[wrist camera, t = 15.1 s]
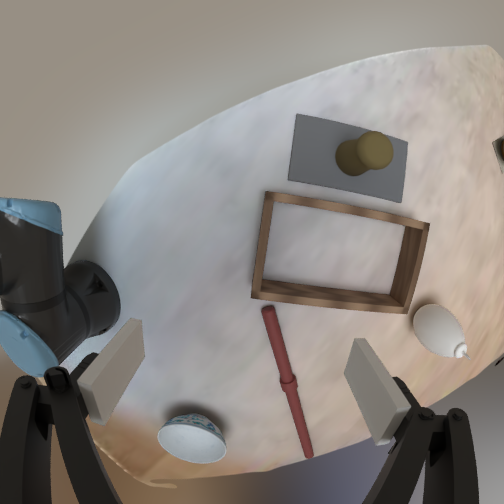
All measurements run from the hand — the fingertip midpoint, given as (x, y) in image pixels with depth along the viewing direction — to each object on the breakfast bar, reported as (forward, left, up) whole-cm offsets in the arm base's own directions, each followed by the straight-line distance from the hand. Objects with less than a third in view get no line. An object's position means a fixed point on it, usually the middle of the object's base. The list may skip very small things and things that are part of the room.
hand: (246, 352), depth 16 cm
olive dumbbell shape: (+13, +17, -29) cm, 36 cm away
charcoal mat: (+13, +17, -30) cm, 37 cm away
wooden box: (+13, +2, -30) cm, 32 cm away
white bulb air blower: (+34, -8, -30) cm, 46 cm away
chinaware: (-8, -42, -30) cm, 52 cm away
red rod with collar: (+12, -30, -30) cm, 44 cm away
